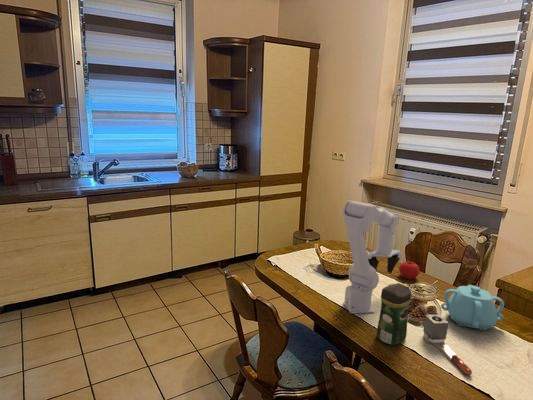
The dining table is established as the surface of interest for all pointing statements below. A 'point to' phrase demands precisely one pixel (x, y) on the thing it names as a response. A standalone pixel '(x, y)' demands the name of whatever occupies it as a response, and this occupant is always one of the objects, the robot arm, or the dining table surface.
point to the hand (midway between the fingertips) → (381, 273)
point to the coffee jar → (394, 314)
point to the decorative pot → (473, 307)
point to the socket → (435, 327)
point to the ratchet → (449, 354)
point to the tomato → (409, 270)
